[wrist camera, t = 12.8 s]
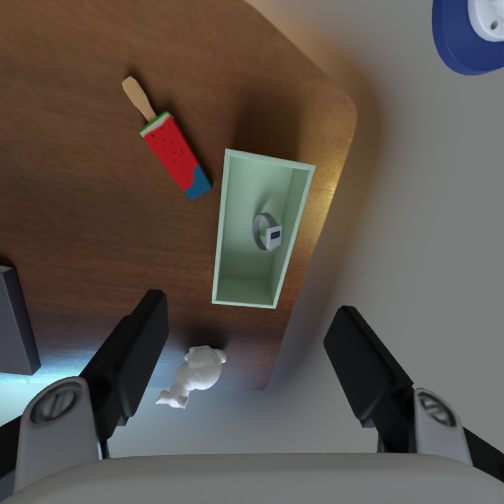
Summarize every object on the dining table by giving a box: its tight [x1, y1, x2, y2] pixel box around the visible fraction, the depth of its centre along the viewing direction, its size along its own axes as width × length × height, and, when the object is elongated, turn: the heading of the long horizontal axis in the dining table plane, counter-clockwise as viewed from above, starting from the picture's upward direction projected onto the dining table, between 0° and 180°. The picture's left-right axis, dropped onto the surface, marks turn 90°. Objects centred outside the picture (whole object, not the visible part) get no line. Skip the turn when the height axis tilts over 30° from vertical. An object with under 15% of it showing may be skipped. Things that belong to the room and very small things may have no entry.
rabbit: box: [156, 345, 226, 409], centre depth 39 cm, size 12×9×12 cm
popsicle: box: [122, 76, 213, 200], centre depth 25 cm, size 5×2×15 cm
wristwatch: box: [252, 212, 282, 252], centre depth 29 cm, size 6×3×5 cm
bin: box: [212, 148, 316, 309], centre depth 28 cm, size 21×10×8 cm, turn 171°
